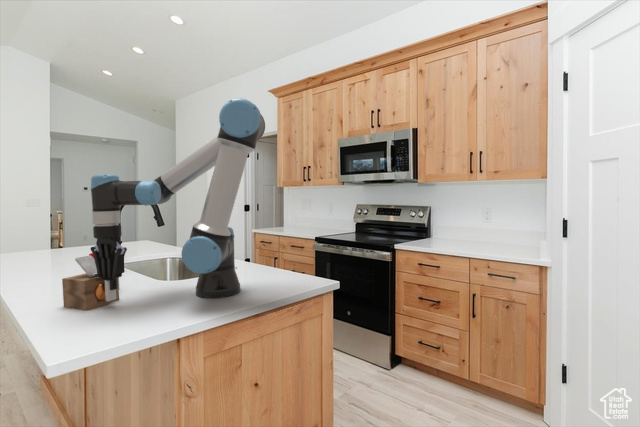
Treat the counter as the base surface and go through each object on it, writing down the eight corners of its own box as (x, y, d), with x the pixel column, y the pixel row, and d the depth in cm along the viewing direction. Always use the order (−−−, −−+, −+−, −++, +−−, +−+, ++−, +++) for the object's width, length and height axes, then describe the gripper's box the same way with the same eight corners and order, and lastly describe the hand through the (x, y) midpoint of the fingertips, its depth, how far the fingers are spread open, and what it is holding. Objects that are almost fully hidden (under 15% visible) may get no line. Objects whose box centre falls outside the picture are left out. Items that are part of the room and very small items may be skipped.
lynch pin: (113, 297, 117) (112, 280, 116) (97, 302, 112) (96, 284, 111) (89, 294, 121) (88, 277, 120) (72, 299, 116) (71, 281, 115)
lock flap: (105, 274, 117) (107, 272, 117) (89, 278, 112) (90, 276, 112) (90, 257, 119) (92, 254, 119) (73, 260, 114) (75, 257, 114)
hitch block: (119, 299, 120) (117, 273, 119) (86, 310, 109) (84, 281, 109) (97, 296, 124) (96, 270, 123) (63, 307, 113) (62, 278, 112)
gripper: (133, 224, 113) (136, 298, 114) (103, 223, 118) (107, 294, 119) (111, 226, 106) (115, 305, 107) (81, 225, 111) (85, 301, 112)
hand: (111, 299), depth 113 cm, fingers closed
